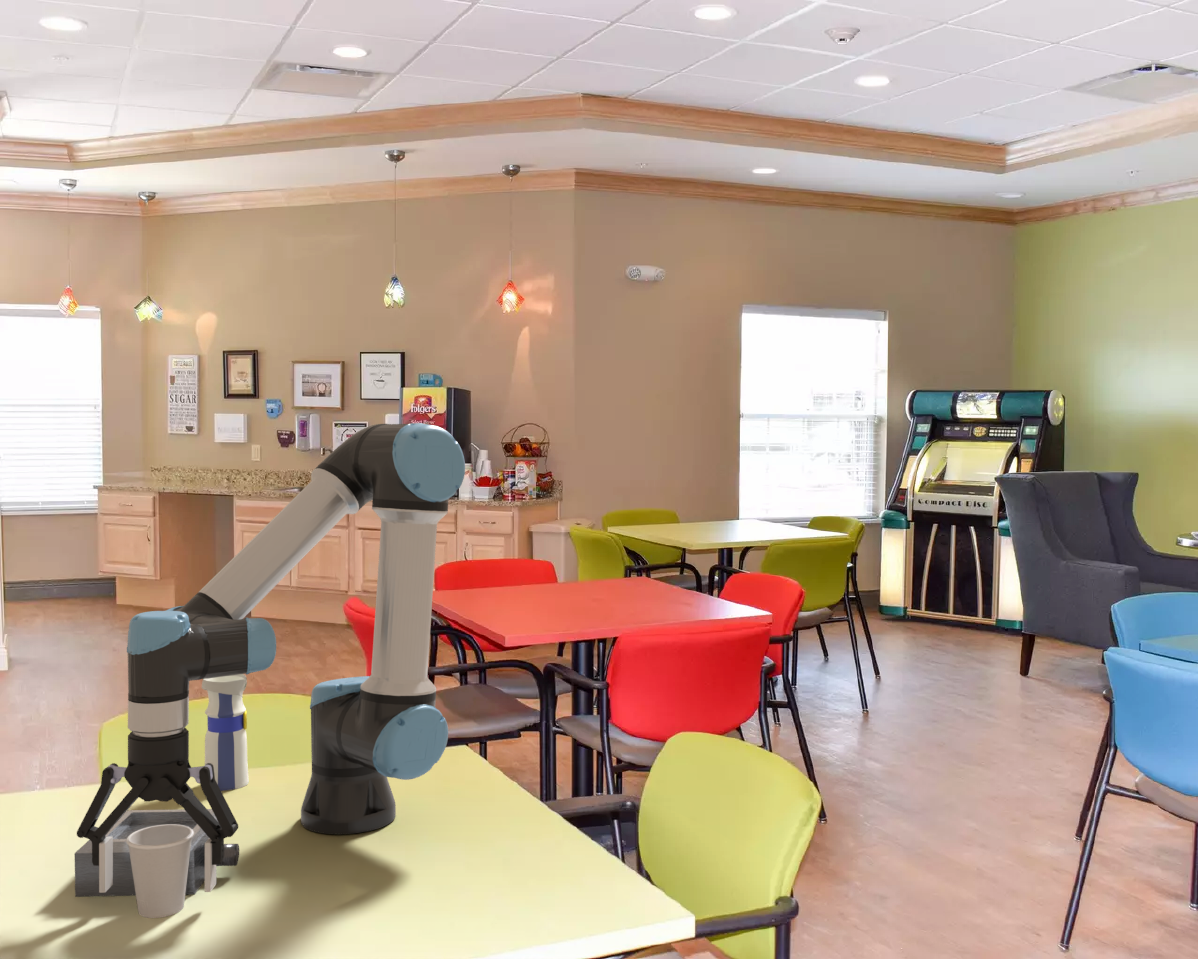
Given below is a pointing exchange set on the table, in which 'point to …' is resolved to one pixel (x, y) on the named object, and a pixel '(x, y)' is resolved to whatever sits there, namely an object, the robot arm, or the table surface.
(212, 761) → the white blue vase
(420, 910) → the table surface
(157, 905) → the dixie cup
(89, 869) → the block
